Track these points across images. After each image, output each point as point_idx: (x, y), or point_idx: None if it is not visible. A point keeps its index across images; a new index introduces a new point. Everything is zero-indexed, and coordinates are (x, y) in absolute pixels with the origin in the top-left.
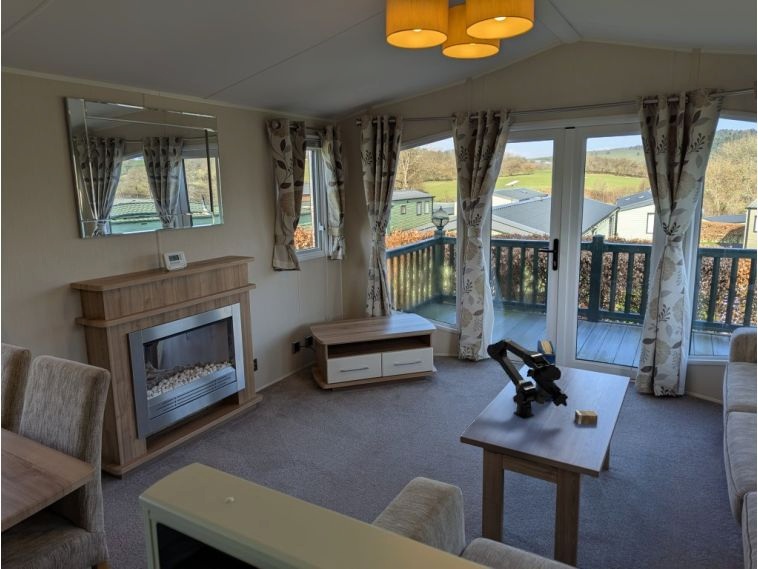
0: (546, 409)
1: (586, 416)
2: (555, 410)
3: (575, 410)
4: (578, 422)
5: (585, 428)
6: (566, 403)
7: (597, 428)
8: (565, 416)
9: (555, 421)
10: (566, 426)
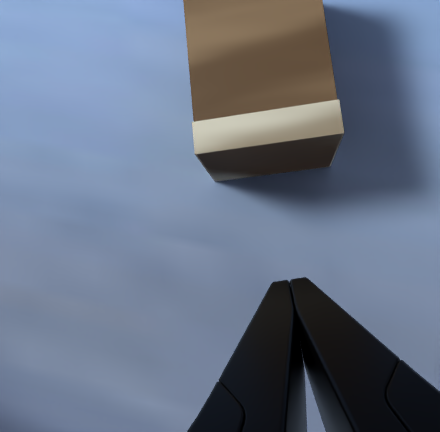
0: (15, 423)
1: (327, 53)
2: (34, 332)
3: (198, 152)
4: (332, 161)
5: (430, 115)
6: (325, 299)
7: (405, 9)
8: (166, 260)
9: (306, 393)
10: (420, 298)
